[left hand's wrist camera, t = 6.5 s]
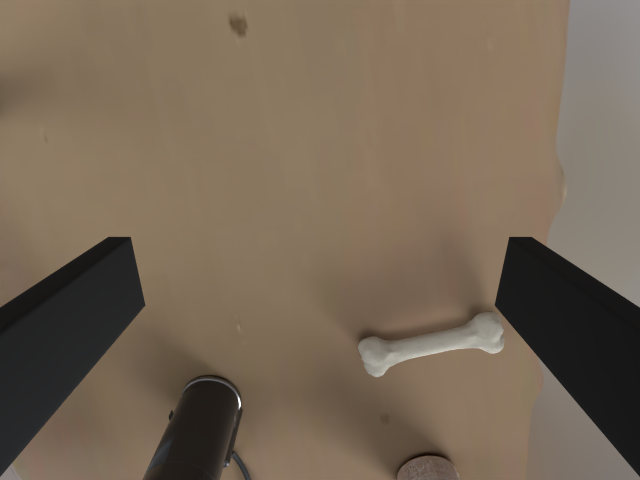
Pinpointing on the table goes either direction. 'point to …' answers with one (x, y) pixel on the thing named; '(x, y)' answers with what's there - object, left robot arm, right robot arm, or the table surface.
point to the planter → (428, 469)
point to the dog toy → (432, 343)
